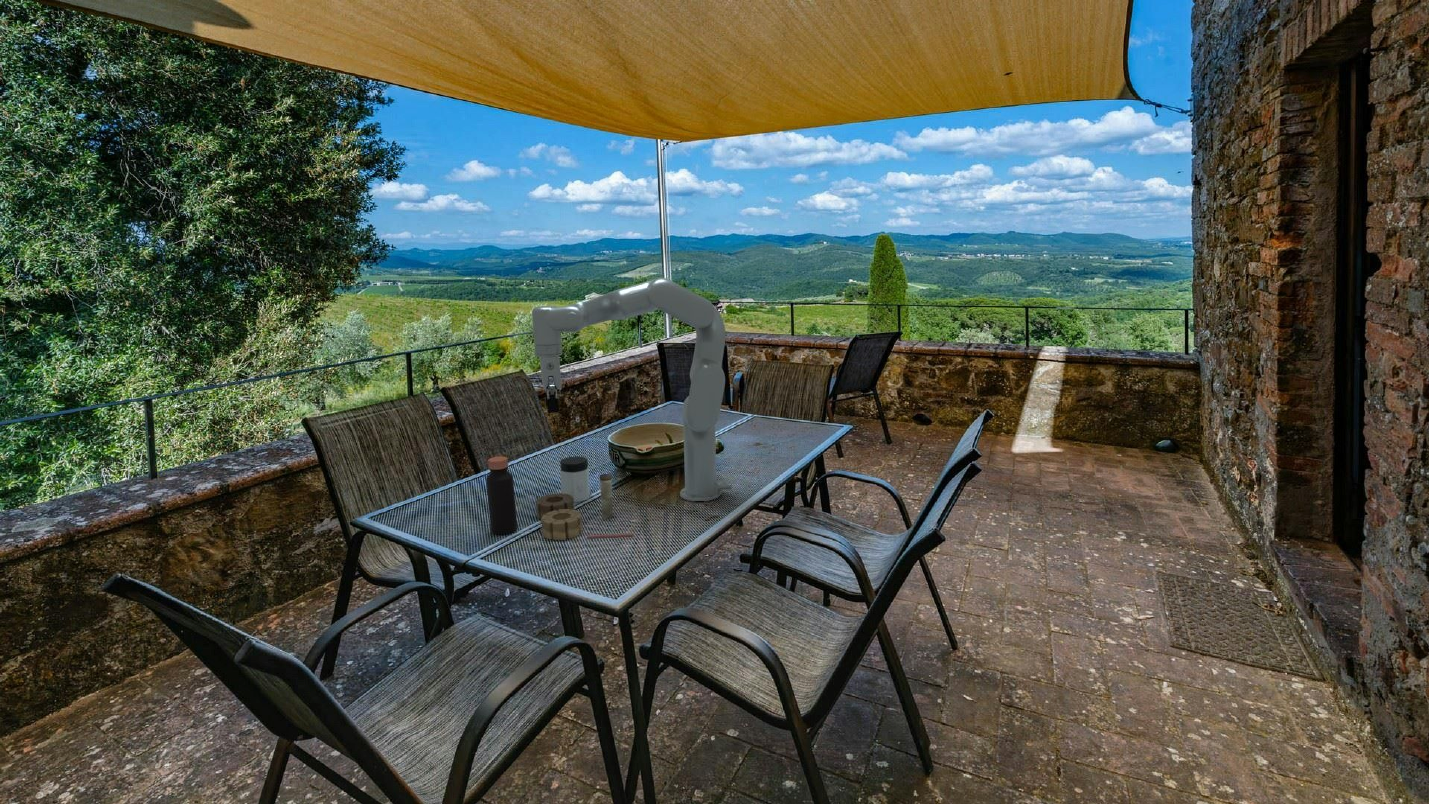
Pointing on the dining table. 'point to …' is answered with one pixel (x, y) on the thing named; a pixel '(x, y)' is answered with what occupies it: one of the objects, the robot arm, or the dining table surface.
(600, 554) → the dining table surface
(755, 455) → the dining table surface
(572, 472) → the jar
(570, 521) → the bead
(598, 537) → the reddish brown square stick
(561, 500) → the bead
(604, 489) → the dowel
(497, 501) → the bottle
